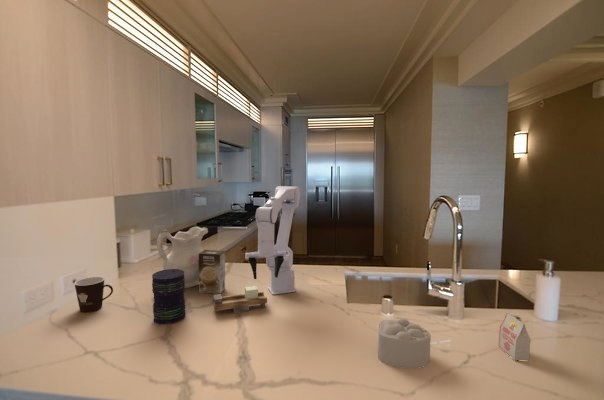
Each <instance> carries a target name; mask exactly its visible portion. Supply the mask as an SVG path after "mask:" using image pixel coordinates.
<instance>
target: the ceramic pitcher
mask: <svg viewBox="0 0 604 400" xmlns="http://www.w3.org/2000/svg"><path fill="white" fill-rule="evenodd" d="M208 229H209V228H207V227H200V226H193V227H190V228H189V230H187V231H178V232H176V234H175V235H174V236H172V234H171V233H170V229H167V228H166V229H162V230H160V233H159V235H158V236H157V238H156V248H157V251H158V253H159V257H160V258H162V267H163V268H162V270H167V269H180V270H183V271H184V279H185V289H190V288H192V287H195V286H199V253H200V252H202V251H203V250H204V249H203V248H202V247H201V244H202V239H203V237H204V235H206V234H208V233H209V230H208ZM165 239H167V240H169V241H170V242H171V246H172V248H171V249H172V250H171V251H170V252H169V253H168V254H167V255H166V252H165V250H164V248H163V241H164V240H165Z"/></svg>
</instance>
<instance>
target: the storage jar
mask: <svg viewBox="0 0 604 400" xmlns="http://www.w3.org/2000/svg"><path fill="white" fill-rule="evenodd" d="M151 278H152V281H151V282H152V283H151V285H152V288H151V290H152V293H153V305H152V308H153V309H152V313H153V322H154V323H155V324H156V325H162V326H163V325H164V326H167V325H173V324H176V323H178V322H181V321H183V320H184V319H185V317H186V299H185V289H186V288H185V279H184V271H183V270H180V269H167V270H164V269H162V270H158V271H156V272H154V273H152V275H151Z"/></svg>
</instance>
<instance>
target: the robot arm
mask: <svg viewBox="0 0 604 400" xmlns="http://www.w3.org/2000/svg"><path fill="white" fill-rule="evenodd" d="M300 199H301V189H300V187H299V186H298V185H297V186H284V185H283V186H282V185H277V186H276V187H275V190H274V196H271V197H270V198H269V199H268V200H267V202H265V203H264V205H263V206H259V207H258V208H256V211H255V215H254V217H255V221H256V228H257V229H258V230H257V251H251V252H250V251H249V252H245V253H244V258H245V260H248V262H249V264H250V267H251V270H252V275H253V278H254V279H253V280H257V278H258V277H257V264H258V261H257V259H265V262H266V266H267V268H268V269H269V271H270V286H267V289H268V290H269V292H270V293H271V294H272V295H282V294H286V293H295V292H296V290H295V286H296V285H295V282H296V281H295V279H296V278H295V271H294V269H293V268H292V267H293V261H294V257H293V256H294V252H293V250H292V248H290V246H288V245H289V239H290V236H291V235H290V234H291V229H292V223H293V217H294V212H295V210H296V209H297V208H298V207H299V205H300ZM281 209H282V212H281V217H280V221H279V222H280V223H279V227H278V234H277V237H276V243H275V223H276V222H277V218H278V215H279V212H280V210H281Z"/></svg>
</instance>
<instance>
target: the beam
mask: <svg viewBox="0 0 604 400" xmlns="http://www.w3.org/2000/svg"><path fill="white" fill-rule="evenodd" d="M212 304H213V305H212V306H213V309H214V311H221V310H228V309H229V310H230V309H232V311H233V313H234V314H238V313H244V312H249V311H250V306H256V305H257V306H258V305H260V307H261V309H265V308H266V304H268V296H265V293H264V291H258V298H254V299H247V300H246V298H245V293H242V294H241V293H240V294H234V295H226V296H225V295H224V296H222V294H221V293H220V294H213V297H212Z"/></svg>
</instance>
